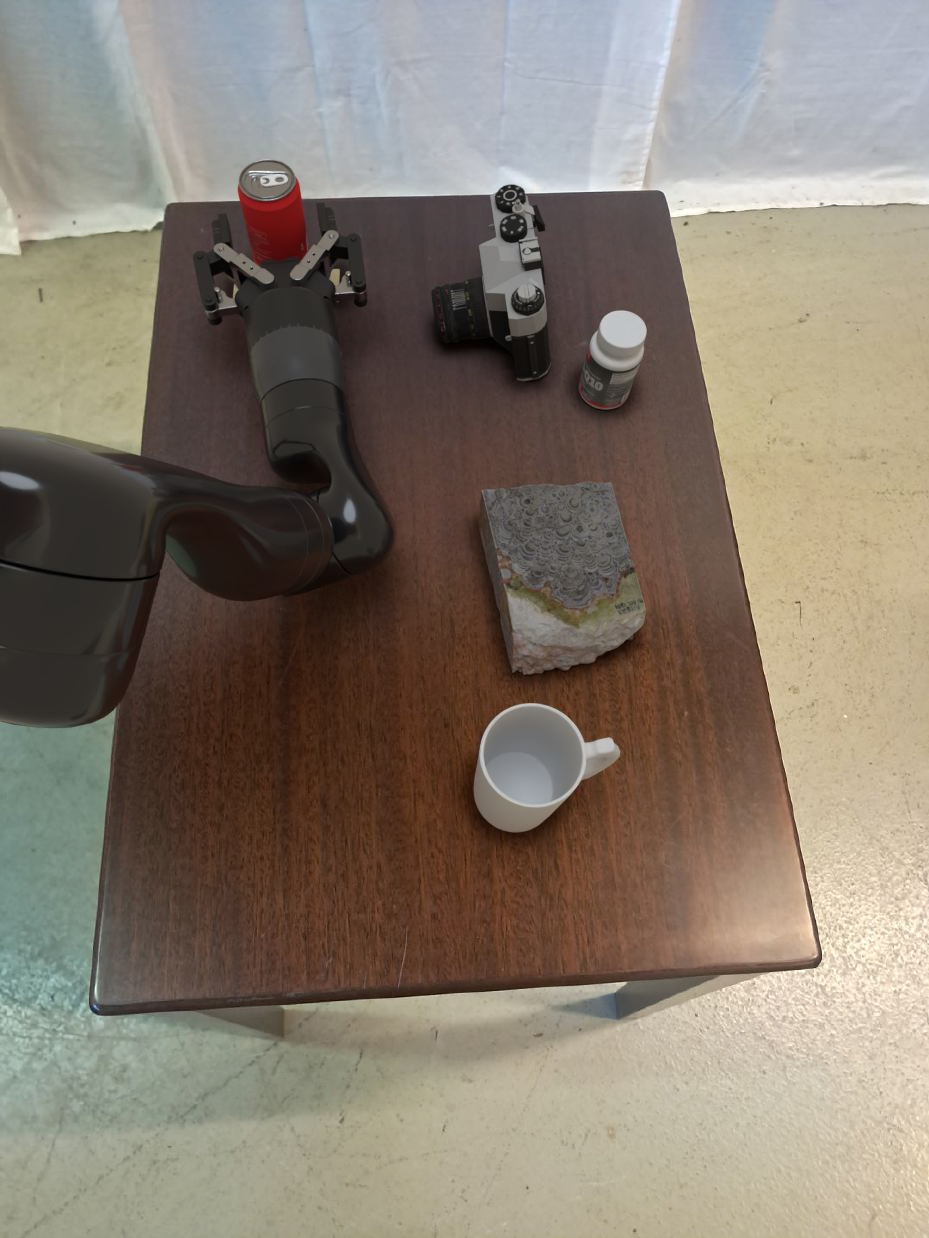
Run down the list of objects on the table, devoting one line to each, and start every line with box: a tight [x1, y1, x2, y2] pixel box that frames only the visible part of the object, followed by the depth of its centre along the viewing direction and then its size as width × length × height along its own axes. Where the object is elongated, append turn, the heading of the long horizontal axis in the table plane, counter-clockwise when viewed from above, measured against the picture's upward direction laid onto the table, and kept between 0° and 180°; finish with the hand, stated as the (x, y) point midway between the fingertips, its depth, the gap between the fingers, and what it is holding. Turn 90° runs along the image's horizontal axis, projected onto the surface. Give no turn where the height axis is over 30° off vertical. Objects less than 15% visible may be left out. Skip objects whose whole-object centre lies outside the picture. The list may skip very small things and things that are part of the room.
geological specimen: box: [478, 480, 647, 676], centre depth 70 cm, size 11×6×15 cm
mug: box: [473, 702, 621, 833], centre depth 61 cm, size 10×7×12 cm, turn 100°
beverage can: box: [237, 158, 310, 265], centre depth 78 cm, size 5×5×12 cm
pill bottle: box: [578, 310, 648, 410], centre depth 77 cm, size 5×5×8 cm
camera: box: [430, 183, 552, 382], centre depth 79 cm, size 15×11×10 cm
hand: (272, 215), depth 77 cm, fingers open, 8 cm apart
